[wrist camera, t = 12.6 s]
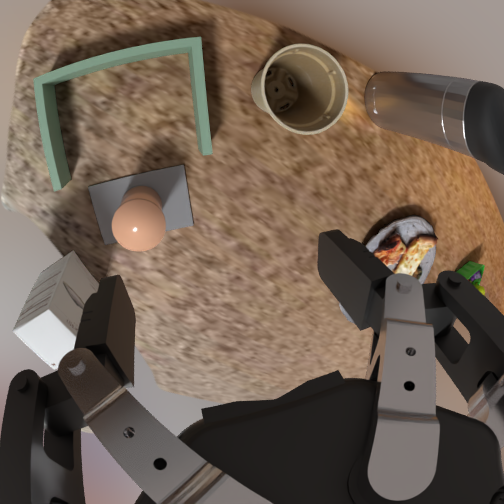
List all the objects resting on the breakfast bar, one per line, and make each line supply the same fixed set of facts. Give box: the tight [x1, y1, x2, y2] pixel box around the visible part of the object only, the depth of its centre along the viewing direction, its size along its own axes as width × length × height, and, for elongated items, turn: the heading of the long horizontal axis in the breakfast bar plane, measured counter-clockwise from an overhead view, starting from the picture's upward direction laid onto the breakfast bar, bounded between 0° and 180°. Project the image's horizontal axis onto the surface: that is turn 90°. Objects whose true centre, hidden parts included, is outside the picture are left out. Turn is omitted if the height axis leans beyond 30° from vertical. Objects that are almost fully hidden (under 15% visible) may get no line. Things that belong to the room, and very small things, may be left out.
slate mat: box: [88, 165, 193, 245], centre depth 34 cm, size 12×8×1 cm, turn 94°
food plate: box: [339, 215, 438, 324], centre depth 52 cm, size 25×23×4 cm
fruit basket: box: [457, 261, 485, 296], centre depth 61 cm, size 11×9×11 cm
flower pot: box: [251, 44, 348, 135], centre depth 28 cm, size 9×9×9 cm
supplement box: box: [13, 251, 99, 369], centre depth 30 cm, size 7×7×13 cm
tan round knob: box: [112, 186, 166, 251], centre depth 31 cm, size 6×6×6 cm
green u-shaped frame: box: [33, 37, 213, 191], centre depth 26 cm, size 18×13×4 cm
